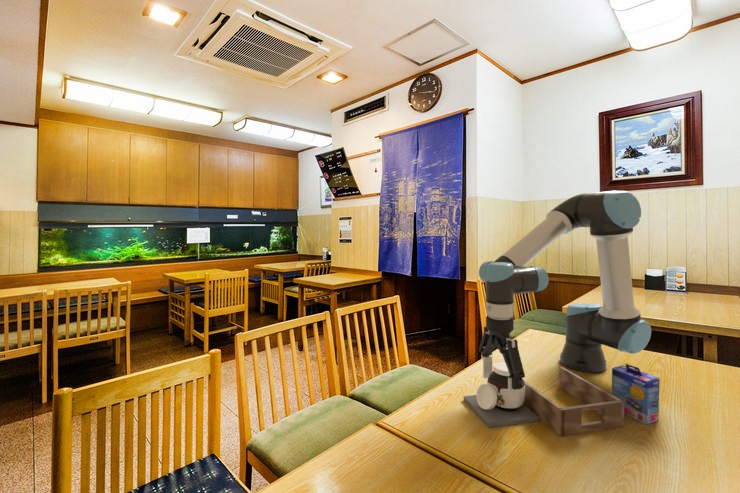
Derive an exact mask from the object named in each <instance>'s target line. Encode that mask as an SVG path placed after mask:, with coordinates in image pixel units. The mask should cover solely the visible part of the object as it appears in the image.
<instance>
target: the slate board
mask: <svg viewBox="0 0 740 493" xmlns="http://www.w3.org/2000/svg"><path fill="white" fill-rule="evenodd" d="M463 401H464V402H465V403H466V405H467V406H468V407H469V409H471V410H472V411H473V413H475V415H477V416H478V418H479V419H480V420H481V421H482V422H483V423H484V425H485V426H486V427H487V428H488V429H489V428H498V427H505V426H509V425H510V426H511V425H519V424H526V423H532V422H538V421H539V418H538V416H537V415H536V414H535V413H533V412H532V411H531V410H530V409H528V408H527V407H526V406H525V405H524V404H522V406H521V407H520V408H519V409H517V410H515V411H504V410H500V409H498V408H496V407H494V408H493V409H491V410H486V409H482V408H481V407H480V406H479V404H478V402H477V398H476V394H473V395H472V394H471V395H464V396H463Z"/></svg>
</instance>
